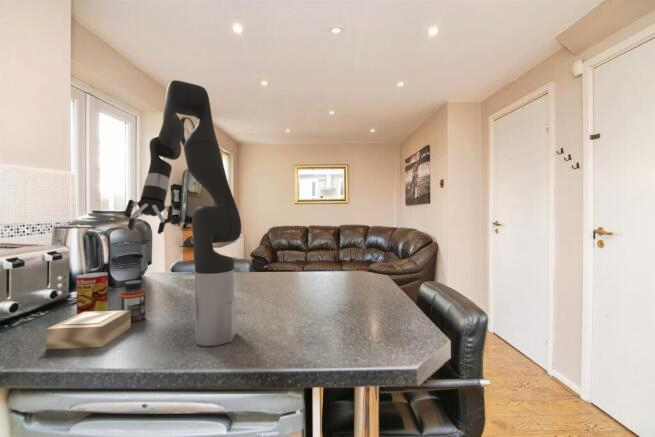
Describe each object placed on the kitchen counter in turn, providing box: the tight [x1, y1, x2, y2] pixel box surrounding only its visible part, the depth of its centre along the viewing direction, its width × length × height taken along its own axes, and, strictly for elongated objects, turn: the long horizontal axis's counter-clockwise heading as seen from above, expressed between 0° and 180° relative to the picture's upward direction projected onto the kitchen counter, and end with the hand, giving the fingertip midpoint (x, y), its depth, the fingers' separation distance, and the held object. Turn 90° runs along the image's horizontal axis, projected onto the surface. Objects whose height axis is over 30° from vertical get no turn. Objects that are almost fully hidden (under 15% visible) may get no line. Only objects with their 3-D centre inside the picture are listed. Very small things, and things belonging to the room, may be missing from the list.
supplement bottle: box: [120, 280, 146, 323], centre depth 87 cm, size 6×6×11 cm
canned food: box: [76, 272, 109, 315], centre depth 94 cm, size 8×8×12 cm
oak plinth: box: [45, 309, 132, 350], centre depth 74 cm, size 12×12×5 cm
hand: (145, 231), depth 101 cm, fingers open, 8 cm apart
